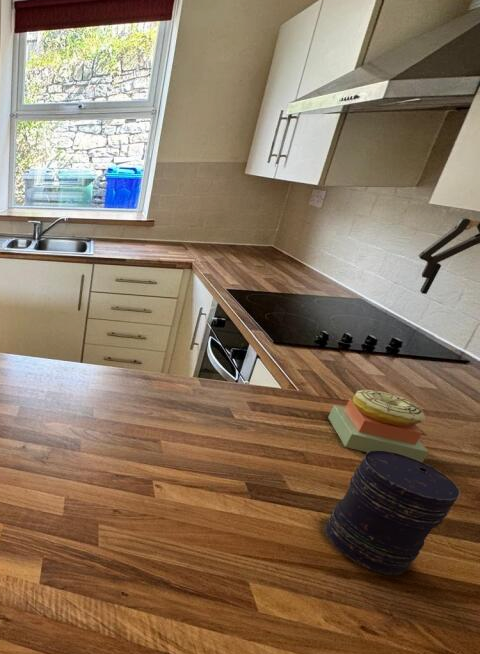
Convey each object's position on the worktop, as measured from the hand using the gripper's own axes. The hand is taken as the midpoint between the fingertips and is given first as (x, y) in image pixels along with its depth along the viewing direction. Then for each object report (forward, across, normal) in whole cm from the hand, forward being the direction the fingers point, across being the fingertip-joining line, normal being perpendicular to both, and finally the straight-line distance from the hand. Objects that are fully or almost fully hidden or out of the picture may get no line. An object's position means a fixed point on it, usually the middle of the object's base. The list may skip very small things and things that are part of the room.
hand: (467, 299), depth 87 cm
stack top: (+25, -7, -22) cm, 34 cm away
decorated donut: (+22, -7, -22) cm, 32 cm away
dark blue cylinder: (+29, -9, -59) cm, 66 cm away
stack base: (+29, -7, -22) cm, 37 cm away
